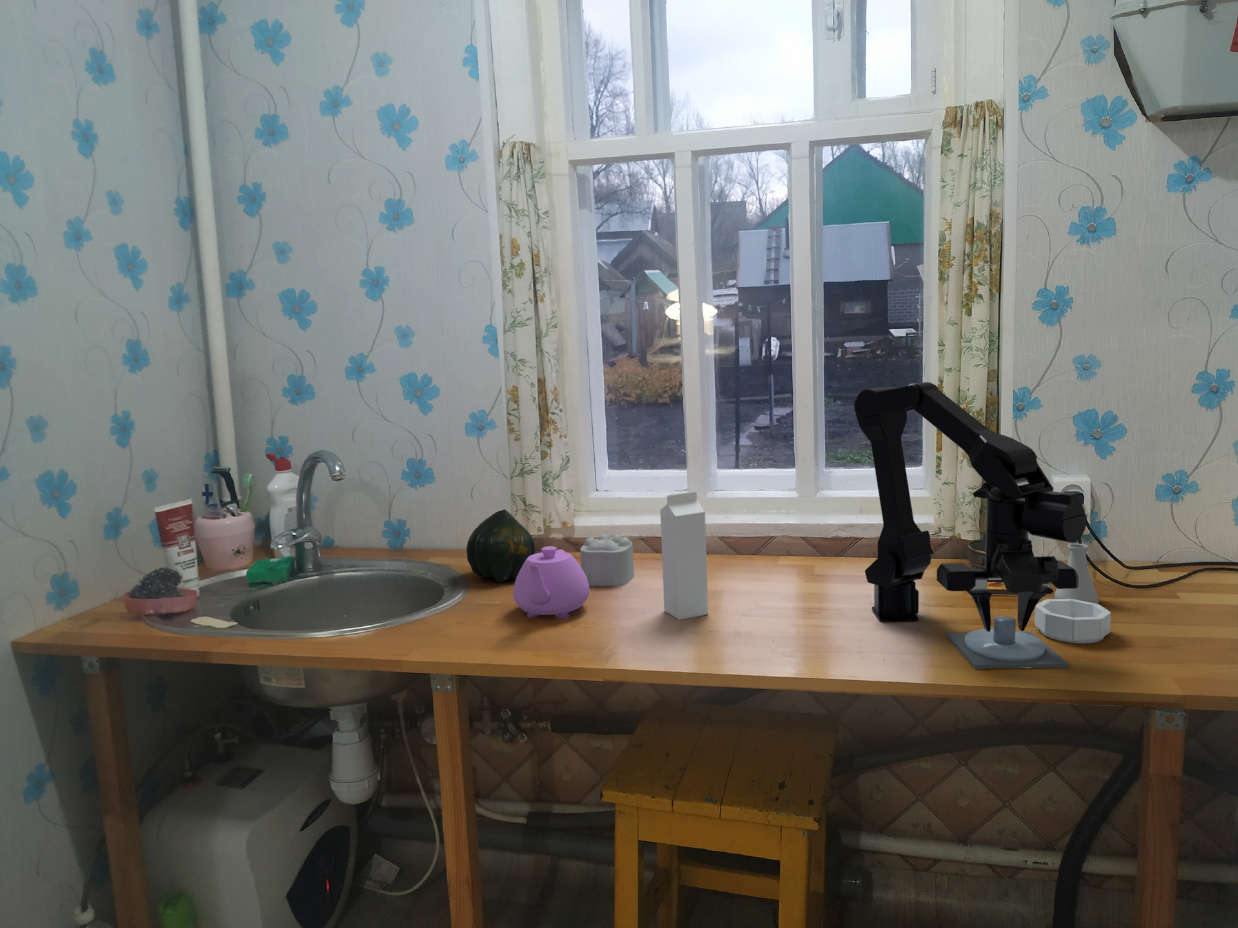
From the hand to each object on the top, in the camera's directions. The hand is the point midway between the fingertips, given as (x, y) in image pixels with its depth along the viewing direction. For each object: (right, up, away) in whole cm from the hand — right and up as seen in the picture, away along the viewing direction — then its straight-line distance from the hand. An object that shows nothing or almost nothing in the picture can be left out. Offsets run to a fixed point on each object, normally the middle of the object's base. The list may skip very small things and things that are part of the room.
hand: (1004, 630), depth 125 cm
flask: (+23, +1, +22) cm, 31 cm away
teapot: (-71, -3, +29) cm, 77 cm away
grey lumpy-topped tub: (-60, +1, +50) cm, 78 cm away
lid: (0, -3, 0) cm, 3 cm away
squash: (-84, +1, +54) cm, 100 cm away
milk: (-46, -2, +25) cm, 52 cm away
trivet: (0, -3, 0) cm, 3 cm away
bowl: (+14, -2, +6) cm, 15 cm away
